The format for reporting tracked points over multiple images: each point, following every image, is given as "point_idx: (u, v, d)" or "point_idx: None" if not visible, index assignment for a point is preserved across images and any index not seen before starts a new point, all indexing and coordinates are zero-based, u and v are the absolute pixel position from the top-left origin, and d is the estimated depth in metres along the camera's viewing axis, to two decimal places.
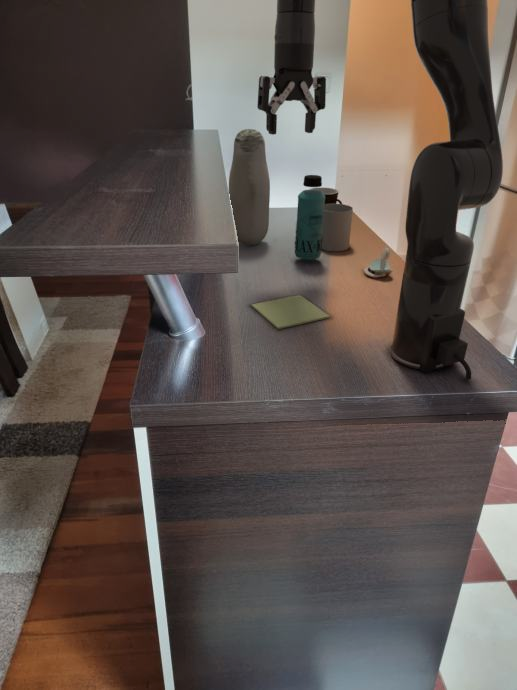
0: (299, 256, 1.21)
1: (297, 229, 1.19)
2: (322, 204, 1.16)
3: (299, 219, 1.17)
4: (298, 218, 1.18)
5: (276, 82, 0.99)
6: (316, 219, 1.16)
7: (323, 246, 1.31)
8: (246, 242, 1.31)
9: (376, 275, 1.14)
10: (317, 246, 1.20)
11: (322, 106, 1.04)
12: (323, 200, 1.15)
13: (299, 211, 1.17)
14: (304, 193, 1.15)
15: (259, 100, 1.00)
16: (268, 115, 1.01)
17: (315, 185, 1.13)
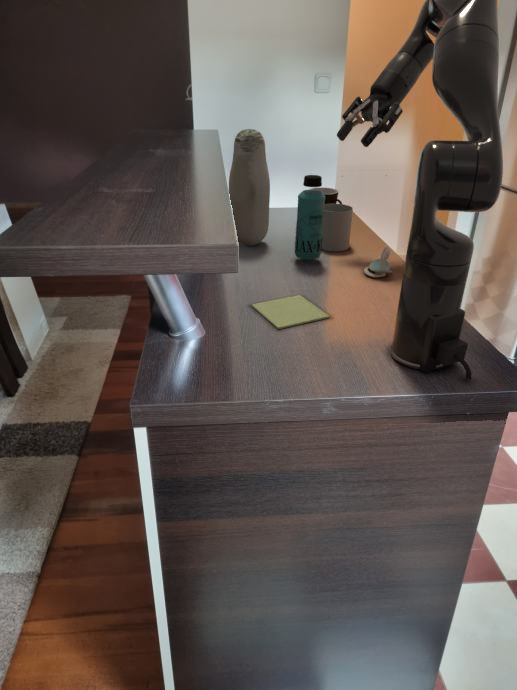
0: (299, 256, 1.21)
1: (297, 229, 1.19)
2: (322, 204, 1.16)
3: (299, 219, 1.17)
4: (298, 218, 1.18)
5: None
6: (316, 219, 1.16)
7: (323, 246, 1.31)
8: (246, 242, 1.31)
9: (376, 275, 1.14)
10: (317, 246, 1.20)
11: (381, 122, 1.09)
12: (323, 200, 1.15)
13: (299, 211, 1.17)
14: (304, 193, 1.15)
15: None
16: None
17: (315, 185, 1.13)
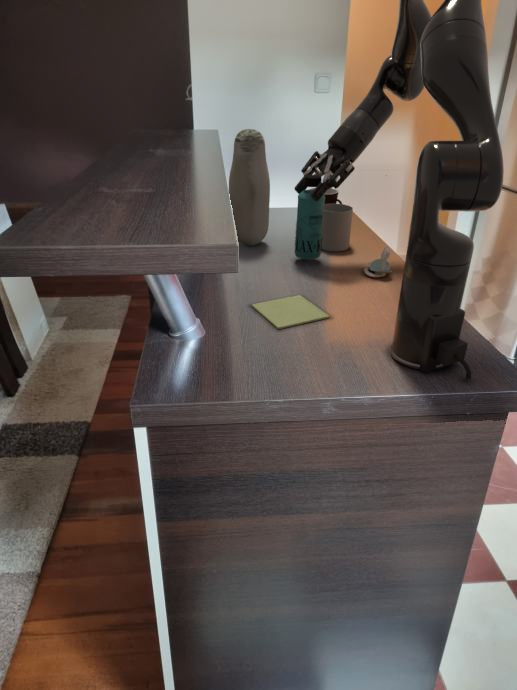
0: (299, 256, 1.21)
1: (297, 229, 1.19)
2: (322, 204, 1.16)
3: (299, 219, 1.17)
4: (298, 218, 1.18)
5: None
6: (316, 219, 1.16)
7: (323, 246, 1.31)
8: (246, 242, 1.31)
9: (376, 275, 1.14)
10: (317, 246, 1.20)
11: (330, 178, 1.10)
12: (323, 200, 1.15)
13: (299, 211, 1.17)
14: (304, 193, 1.15)
15: None
16: None
17: (315, 185, 1.13)
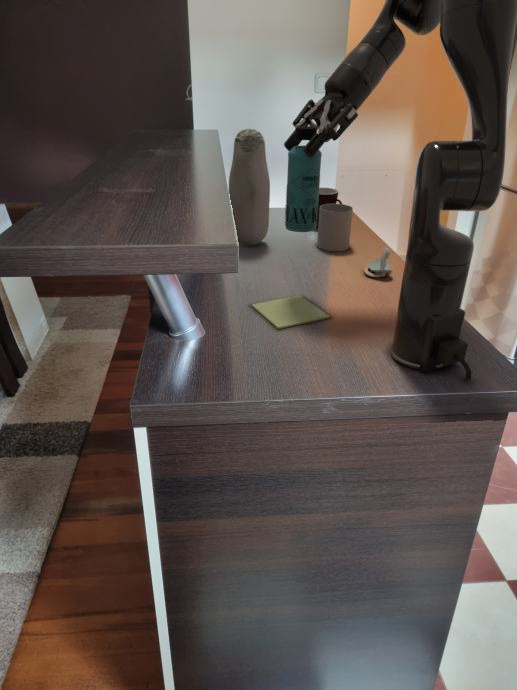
0: (290, 228, 0.99)
1: (287, 195, 0.97)
2: (318, 162, 0.94)
3: (290, 182, 0.95)
4: (288, 181, 0.96)
5: None
6: (311, 181, 0.94)
7: (323, 246, 1.31)
8: (246, 242, 1.31)
9: (376, 275, 1.14)
10: (312, 215, 0.98)
11: (327, 127, 0.88)
12: (319, 157, 0.93)
13: (290, 171, 0.95)
14: (295, 148, 0.93)
15: (303, 125, 0.99)
16: None
17: (309, 137, 0.92)
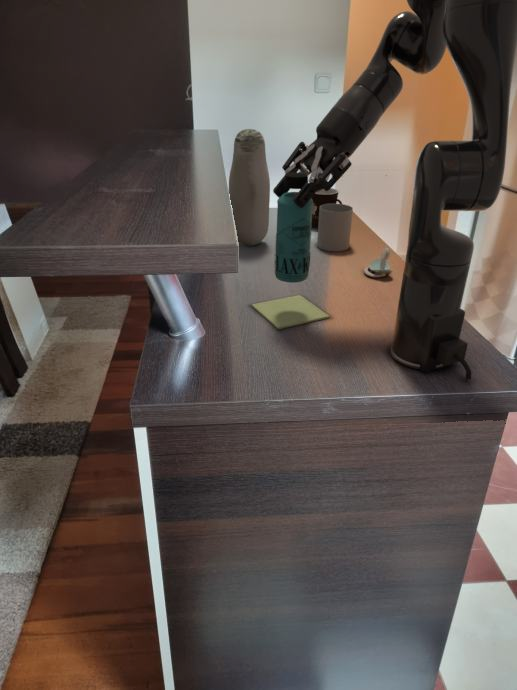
0: (280, 278, 0.93)
1: (277, 244, 0.91)
2: (309, 211, 0.88)
3: (279, 231, 0.90)
4: (278, 229, 0.90)
5: None
6: (301, 231, 0.88)
7: (323, 246, 1.31)
8: (246, 242, 1.31)
9: (376, 275, 1.14)
10: (303, 265, 0.92)
11: (319, 177, 0.82)
12: (310, 206, 0.88)
13: (279, 220, 0.89)
14: (285, 197, 0.87)
15: None
16: None
17: (299, 186, 0.86)
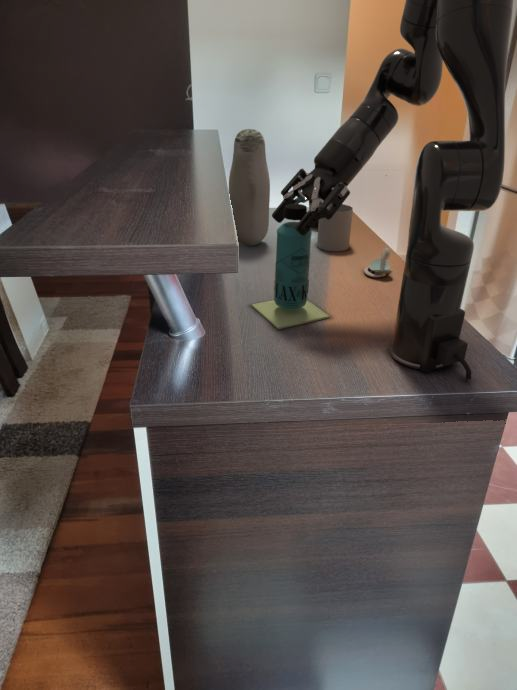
0: (279, 305, 0.96)
1: (276, 271, 0.94)
2: (307, 241, 0.91)
3: (279, 259, 0.92)
4: (277, 258, 0.93)
5: None
6: (300, 260, 0.91)
7: (323, 246, 1.31)
8: (246, 242, 1.31)
9: (376, 275, 1.14)
10: (302, 293, 0.95)
11: (320, 207, 0.84)
12: (309, 236, 0.90)
13: (278, 250, 0.92)
14: (284, 227, 0.90)
15: None
16: None
17: (299, 217, 0.88)
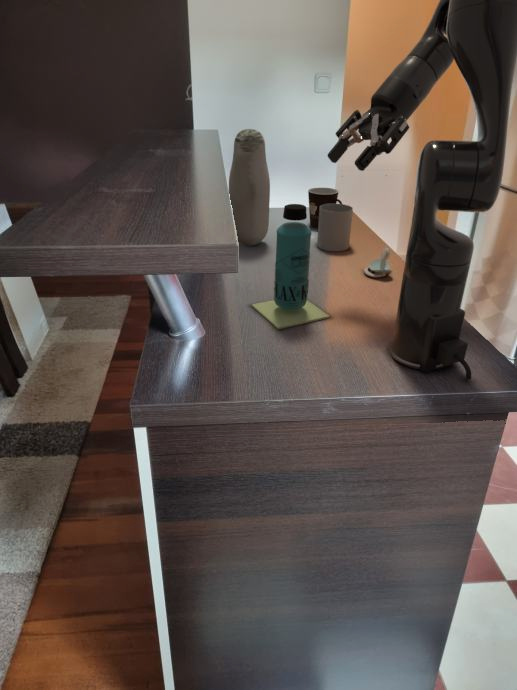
0: (279, 305, 0.96)
1: (276, 272, 0.94)
2: (307, 241, 0.91)
3: (278, 260, 0.92)
4: (277, 258, 0.93)
5: None
6: (300, 260, 0.91)
7: (323, 246, 1.31)
8: (246, 242, 1.31)
9: (376, 275, 1.14)
10: (302, 293, 0.95)
11: (381, 140, 0.86)
12: (308, 236, 0.90)
13: (278, 250, 0.92)
14: (284, 228, 0.90)
15: None
16: None
17: (298, 218, 0.88)
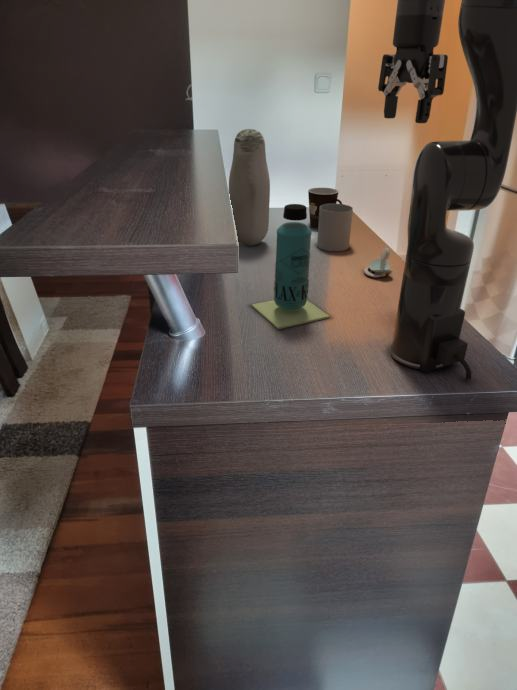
0: (279, 305, 0.96)
1: (276, 272, 0.94)
2: (307, 241, 0.91)
3: (278, 260, 0.92)
4: (277, 258, 0.93)
5: None
6: (300, 260, 0.91)
7: (323, 246, 1.31)
8: (246, 242, 1.31)
9: (376, 275, 1.14)
10: (302, 293, 0.95)
11: (429, 91, 0.85)
12: (309, 236, 0.90)
13: (278, 250, 0.92)
14: (284, 228, 0.90)
15: (388, 80, 0.95)
16: None
17: (298, 218, 0.88)
